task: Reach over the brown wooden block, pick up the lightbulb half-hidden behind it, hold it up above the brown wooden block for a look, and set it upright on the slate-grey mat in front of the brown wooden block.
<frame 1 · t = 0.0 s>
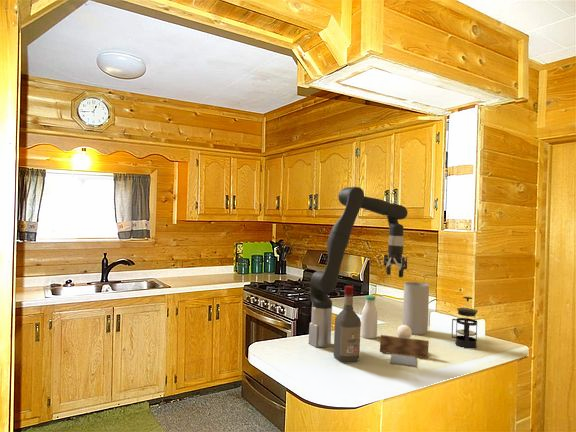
hand: (394, 276, 206), 29 cm above the countertop, tool pointing down, fingers open, 8 cm apart
lightbulb: (403, 349, 181), on the countertop
liquor: (346, 359, 166), on the countertop
brown wooden block: (403, 354, 174), on the countertop
french press: (464, 345, 190), on the countertop
mat: (403, 361, 166), on the countertop
milk bottle: (368, 337, 198), on the countertop
cylinder vase: (414, 332, 210), on the countertop
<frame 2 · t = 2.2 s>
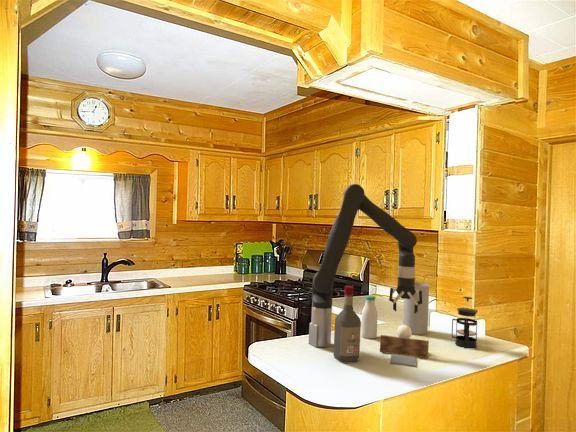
hand: (405, 312, 181), 17 cm above the countertop, tool pointing down, fingers open, 8 cm apart
nothing on the countertop moved.
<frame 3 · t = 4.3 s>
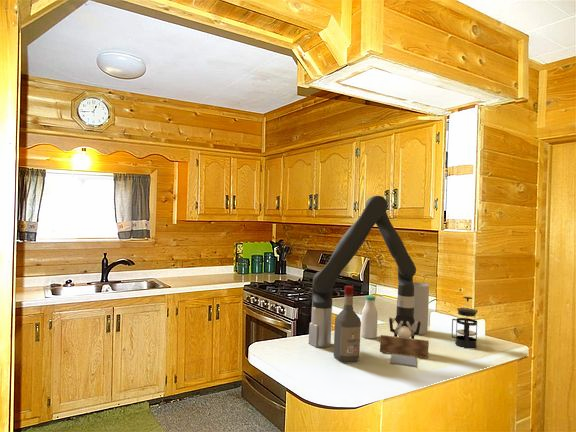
hand: (403, 342, 181), 3 cm above the countertop, tool pointing down, fingers closed on lightbulb, 6 cm apart
lightbulb: (403, 349, 181), on the countertop, touching gripper
everything else where it was.
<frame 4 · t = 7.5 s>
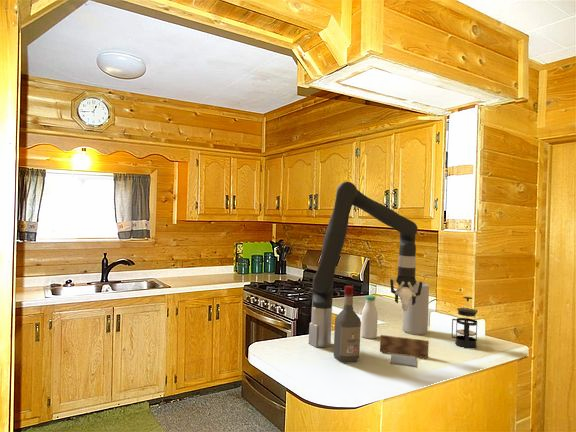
hand: (405, 303, 177), 21 cm above the countertop, tool pointing down, fingers closed on lightbulb, 6 cm apart
lightbulb: (404, 311, 177), point 18 cm above the countertop, touching gripper
everything else where it was.
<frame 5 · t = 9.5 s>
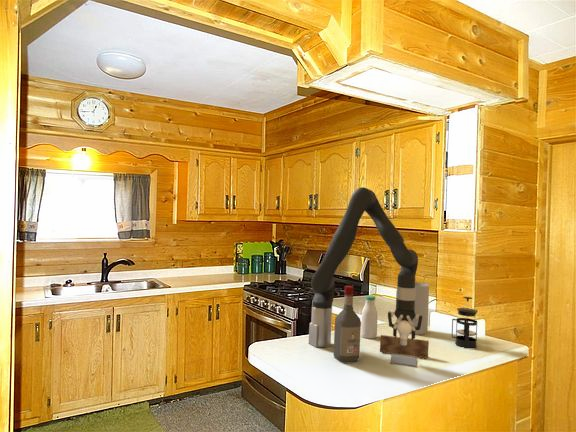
hand: (403, 338, 166), 9 cm above the countertop, tool pointing down, fingers closed on lightbulb, 6 cm apart
lightbulb: (403, 346, 166), point 6 cm above the countertop, touching gripper
everything else where it was.
when the fingers open (5 cm above the countertop, at t = 11.0 s): lightbulb drops 1 cm, resting on mat.
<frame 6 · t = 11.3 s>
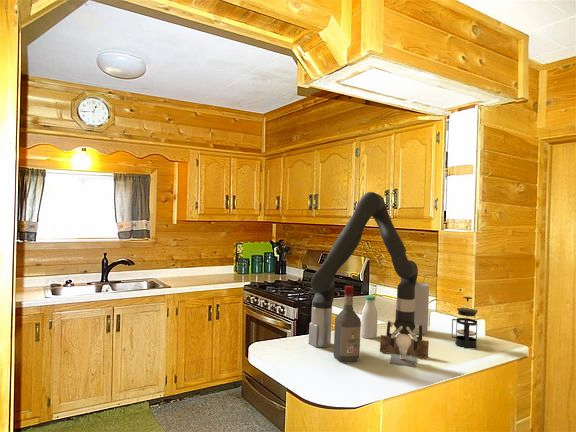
hand: (403, 348, 166), 5 cm above the countertop, tool pointing down, fingers open, 8 cm apart
lightbulb: (402, 360, 166), resting on mat
everything else where it was.
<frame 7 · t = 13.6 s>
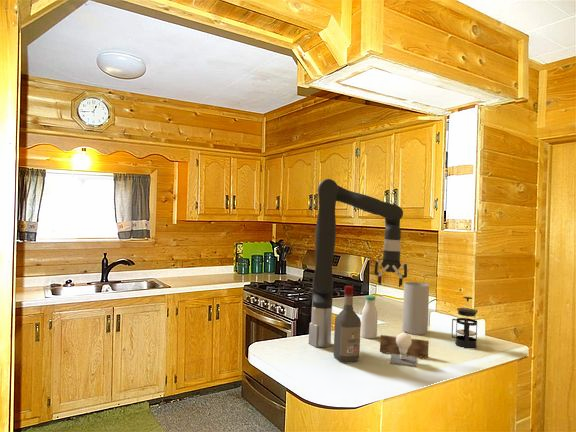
hand: (389, 285, 181), 29 cm above the countertop, tool pointing down, fingers open, 8 cm apart
nothing on the countertop moved.
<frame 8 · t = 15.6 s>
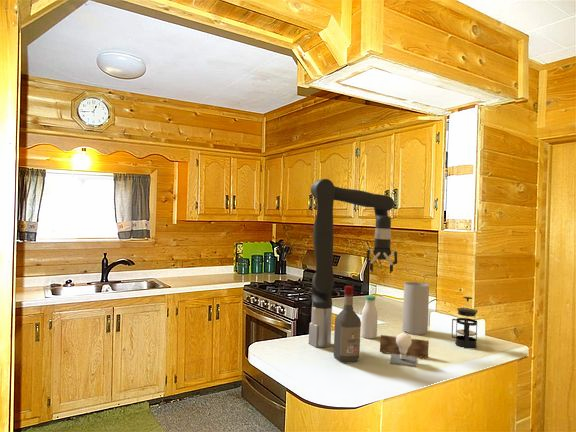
hand: (381, 272, 191), 33 cm above the countertop, tool pointing down, fingers open, 8 cm apart
nothing on the countertop moved.
at the end: lightbulb inside the target area on the mat (0.1 cm from its centre), point 0.4 cm above the mat's base; lightbulb tilted 0°; the gripper is holding nothing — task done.
